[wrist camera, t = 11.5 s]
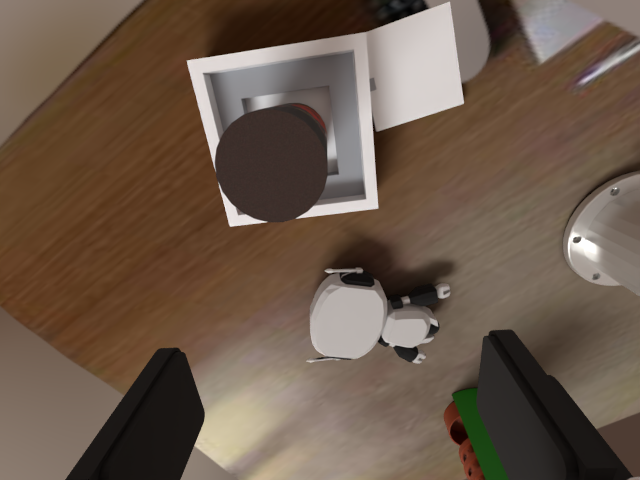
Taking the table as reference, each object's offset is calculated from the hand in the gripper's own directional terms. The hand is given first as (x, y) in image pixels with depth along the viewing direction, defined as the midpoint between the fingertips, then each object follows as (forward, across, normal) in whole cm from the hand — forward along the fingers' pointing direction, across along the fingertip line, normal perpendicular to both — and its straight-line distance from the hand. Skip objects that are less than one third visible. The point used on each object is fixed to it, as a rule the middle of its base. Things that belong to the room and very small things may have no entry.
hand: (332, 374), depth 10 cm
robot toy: (+26, -3, +15) cm, 30 cm away
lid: (+25, -7, -9) cm, 28 cm away
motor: (+26, -17, +34) cm, 46 cm away
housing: (+25, +4, -5) cm, 26 cm away
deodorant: (+25, +3, -5) cm, 25 cm away
